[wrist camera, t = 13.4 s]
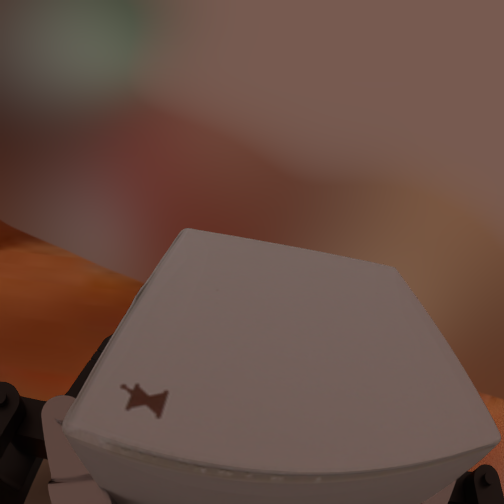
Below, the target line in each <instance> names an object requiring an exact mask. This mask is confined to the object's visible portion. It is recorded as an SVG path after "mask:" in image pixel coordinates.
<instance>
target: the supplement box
mask: <svg viewBox="0 0 504 504" xmlns="http://www.w3.org/2000/svg"><path fill="white" fill-rule="evenodd" d="M62 431H63V432H64V434H65V436H66V438H67V440H68V441H69V443H70V445H71V446H72V448H73V450H74V451H75V453H76V454H77V456H78V457H79V459H80V460H81V462H82V463H83V465H84V466H85V468H86V469H87V470H88V472H89V473H90V474H91V476H92V477H93V479H94V480H95V482H96V483H97V484H98V485H99V486H100V487H102V488H104V489H107V491H108V492H109V493H110V495H111V496H112V497H113V499H114V500H115V501H116V502H117V504H421V503H423V502H424V501H426V500H427V499H429V498H431V497H432V496H434V495H435V494H437V493H438V492H439V491H441V490H442V489H444V488H445V487H447V486H448V485H449V484H451V483H452V482H453V481H455V480H456V479H458V478H459V477H460V476H461V475H463V474H464V473H465V472H466V471H468V470H469V469H470V468H472V467H473V466H474V465H475V464H477V463H478V462H479V461H480V460H481V459H482V458H484V457H485V456H486V455H487V454H488V453H489V452H490V451H491V450H492V449H493V448H494V447H495V446H496V445H497V444H498V443H499V442H500V440H501V435H500V432H499V430H498V429H497V426H496V424H495V422H494V420H493V418H492V416H491V415H490V413H489V411H488V409H487V407H486V406H485V404H484V402H483V400H482V399H481V397H480V395H479V393H478V392H477V390H476V388H475V386H474V385H473V383H472V381H471V380H470V378H469V376H468V375H467V373H466V371H465V370H464V368H463V366H462V365H461V363H460V361H459V360H458V358H457V357H456V355H455V353H454V352H453V350H452V349H451V347H450V345H449V344H448V342H447V341H446V339H445V338H444V336H443V335H442V333H441V332H440V331H439V329H438V327H437V326H436V324H435V323H434V321H433V320H432V318H431V317H430V316H429V314H428V313H427V311H426V310H425V308H424V307H423V306H422V304H421V303H420V301H419V300H418V299H417V297H416V296H415V294H414V293H413V292H412V290H411V289H410V287H409V286H408V285H407V283H406V282H405V280H404V279H403V278H402V276H401V275H400V274H399V272H398V271H397V270H396V268H394V267H391V266H386V265H382V264H377V263H373V262H369V261H364V260H359V259H354V258H349V257H344V256H339V255H334V254H329V253H324V252H319V251H314V250H308V249H303V248H297V247H292V246H287V245H281V244H276V243H270V242H265V241H259V240H254V239H248V238H242V237H237V236H231V235H225V234H218V233H213V232H207V231H202V230H196V229H191V228H186V229H184V230H182V231H181V232H180V233H179V235H178V236H177V238H176V239H175V240H174V242H173V243H172V245H171V247H170V248H169V249H168V251H167V252H166V254H165V255H164V256H163V258H162V259H161V261H160V262H159V264H158V265H157V267H156V268H155V270H154V271H153V273H152V274H151V276H150V277H149V279H148V280H147V281H146V283H145V284H144V285H143V286H142V287H141V289H140V290H139V292H138V294H137V295H136V296H135V298H134V300H133V302H132V305H131V306H130V308H129V309H128V311H127V313H126V314H125V316H124V317H123V319H122V320H121V322H120V324H119V325H118V327H117V329H116V330H115V332H114V334H113V335H112V337H111V339H110V340H109V342H108V344H107V345H106V347H105V349H104V350H103V352H102V354H101V355H100V357H99V359H98V361H97V362H96V364H95V366H94V367H93V369H92V371H91V373H90V374H89V376H88V378H87V380H86V382H85V383H84V385H83V387H82V389H81V391H80V392H79V394H78V396H77V398H76V400H75V401H74V403H73V404H72V406H71V407H70V409H69V410H68V412H67V414H66V416H65V418H64V421H63V423H62Z"/></svg>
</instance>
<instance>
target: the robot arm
mask: <svg viewBox="0 0 504 504" xmlns="http://www.w3.org/2000/svg"><path fill="white" fill-rule="evenodd" d="M112 335H113V334H112ZM112 335H111V336H109V337H107V338H106V339H105V340H104V341H103V342H102V344H101V345H100V347H99V348H98V349H97V352H95V354H94V355H93V356H92V358H91V360H90V361H89V362H88V363H87V365H86V366H85V368H84V369H83V370H82V372H81V373H80V375H79V376H78V378H77V379H76V381H75V382H74V384H73V385H72V386H71V388H70V389H69V391H68V392H67V393H66V394H65V395H60V396H56V397H53V398H51V399H50V400H48V401H40V400H35V399H31V398H26V397H22V396H20V395H19V393H18V391H17V390H16V388H15V387H14V386H13V385H11V384H9V383H7V382H0V504H24V502H25V500H26V497H27V495H28V493H29V490H30V488H31V486H32V483H33V481H34V479H35V477H36V474H37V472H38V470H39V468H40V466H41V463H42V461H43V459H47V460H48V463H49V467H50V472H51V480H50V481H49V482H48V491H49V496H50V499H51V503H52V504H117V502H116V501H115V500H114V499H113V497H112V496H111V495H110V493H109V492H108V491H107V489H104V488H102V487H100V486H99V485H98V484H97V483H96V482H95V480H94V479H93V477H92V476H91V474H90V473H89V472H88V470H87V469H86V468H85V466H84V465H83V463H82V462H81V460H80V459H79V457H78V456H77V454H76V453H75V451H74V450H73V448H72V446H71V445H70V443H69V441H68V440H67V438H66V436H65V434H64V432H63V431H62V423H63V421H64V418H65V416H66V414H67V412H68V410H69V409H70V407H71V406H72V404H73V403H74V401H75V400H76V398H77V396H78V394H79V392H80V391H81V389H82V387H83V385H84V383H85V382H86V380H87V378H88V376H89V374H90V373H91V371H92V369H93V367H94V366H95V364H96V362H97V361H98V359H99V357H100V355H101V354H102V352H103V350H104V349H105V347H106V345H107V344H108V342H109V340H110V339H111V337H112ZM421 504H504V496H503V492H502V488H501V484H500V480H499V476H498V473H497V471H496V470H495V469H494V468H493V467H492V466H490V465H486V464H485V465H481V466H479V467H478V468H477V469H475V470H474V471H473V472H468V471H466V472H465V473H464V474H463V475H461V476H460V477H459V478H458V479H456V480H455V481H453V482H452V483H451V484H449V485H448V486H447V487H445V488H444V489H442V490H441V491H439V492H438V493H437V494H435V495H434V496H432V497H431V498H429V499H427V500H426V501H424V502H423V503H421Z"/></svg>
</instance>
